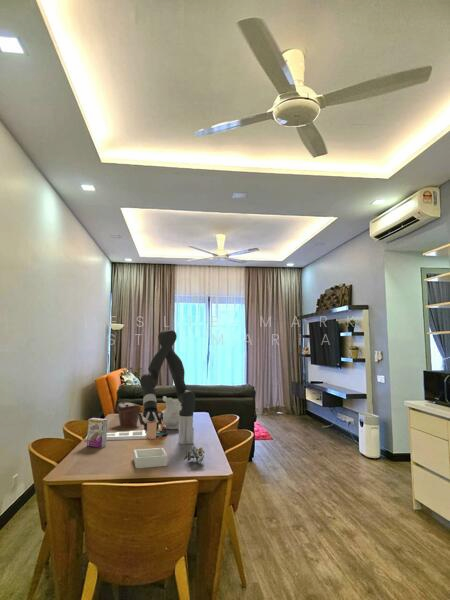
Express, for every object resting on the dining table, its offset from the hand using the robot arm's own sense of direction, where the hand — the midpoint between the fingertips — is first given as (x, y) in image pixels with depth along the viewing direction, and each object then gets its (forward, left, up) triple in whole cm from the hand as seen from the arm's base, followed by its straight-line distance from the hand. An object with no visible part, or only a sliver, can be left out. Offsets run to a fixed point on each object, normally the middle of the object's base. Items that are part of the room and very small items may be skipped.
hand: (151, 430), depth 197 cm
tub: (0, -2, -4) cm, 5 cm away
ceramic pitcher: (-28, -85, -17) cm, 91 cm away
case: (+5, -101, -17) cm, 102 cm away
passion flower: (-22, +7, -17) cm, 29 cm away
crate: (0, -2, -17) cm, 17 cm away
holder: (+11, -65, -18) cm, 68 cm away
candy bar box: (+28, -43, -17) cm, 54 cm away
